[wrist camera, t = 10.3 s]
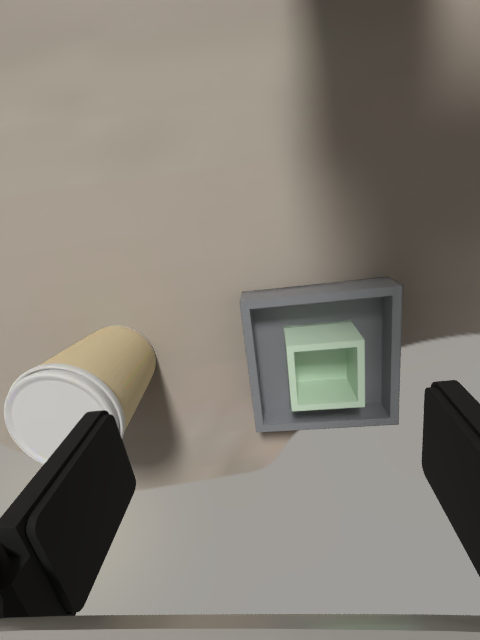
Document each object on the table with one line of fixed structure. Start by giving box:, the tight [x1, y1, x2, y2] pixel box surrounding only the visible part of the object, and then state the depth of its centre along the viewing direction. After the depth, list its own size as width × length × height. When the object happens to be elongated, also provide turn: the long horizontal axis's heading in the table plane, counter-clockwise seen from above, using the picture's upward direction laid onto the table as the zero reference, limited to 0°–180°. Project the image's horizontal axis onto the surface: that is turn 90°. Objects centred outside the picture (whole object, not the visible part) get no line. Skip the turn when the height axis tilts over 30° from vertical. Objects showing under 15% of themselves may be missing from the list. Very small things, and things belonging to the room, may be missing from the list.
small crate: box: [284, 320, 365, 411], centre depth 32 cm, size 6×6×5 cm
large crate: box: [240, 277, 403, 432], centre depth 34 cm, size 14×14×4 cm
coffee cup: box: [4, 325, 156, 464], centre depth 32 cm, size 9×9×12 cm
